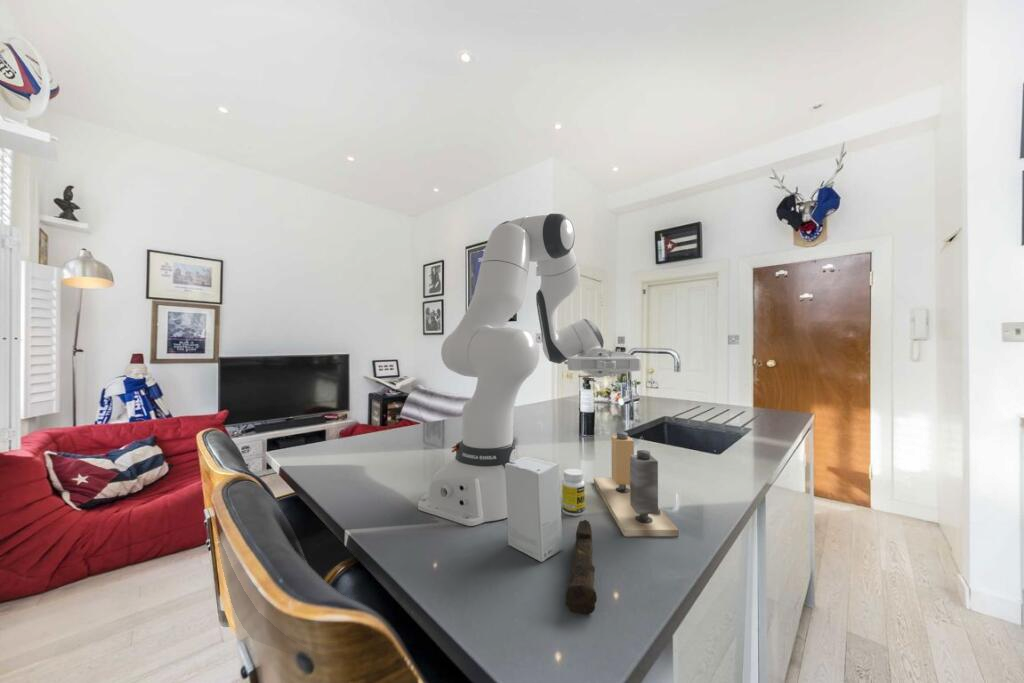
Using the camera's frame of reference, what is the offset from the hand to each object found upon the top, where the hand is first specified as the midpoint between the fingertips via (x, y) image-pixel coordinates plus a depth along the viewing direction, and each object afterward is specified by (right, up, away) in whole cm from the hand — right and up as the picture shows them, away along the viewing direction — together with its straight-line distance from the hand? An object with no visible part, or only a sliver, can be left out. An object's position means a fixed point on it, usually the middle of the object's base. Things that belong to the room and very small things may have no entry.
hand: (609, 365), depth 97 cm
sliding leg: (0, -28, -11) cm, 30 cm away
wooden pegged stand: (0, -30, -16) cm, 34 cm away
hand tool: (-15, -30, -39) cm, 52 cm away
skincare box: (-22, -30, -32) cm, 49 cm away
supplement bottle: (-13, -30, -19) cm, 38 cm away
